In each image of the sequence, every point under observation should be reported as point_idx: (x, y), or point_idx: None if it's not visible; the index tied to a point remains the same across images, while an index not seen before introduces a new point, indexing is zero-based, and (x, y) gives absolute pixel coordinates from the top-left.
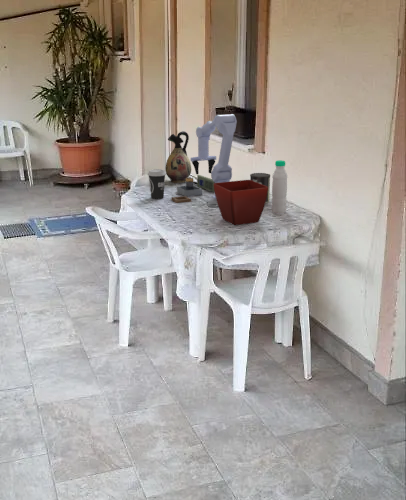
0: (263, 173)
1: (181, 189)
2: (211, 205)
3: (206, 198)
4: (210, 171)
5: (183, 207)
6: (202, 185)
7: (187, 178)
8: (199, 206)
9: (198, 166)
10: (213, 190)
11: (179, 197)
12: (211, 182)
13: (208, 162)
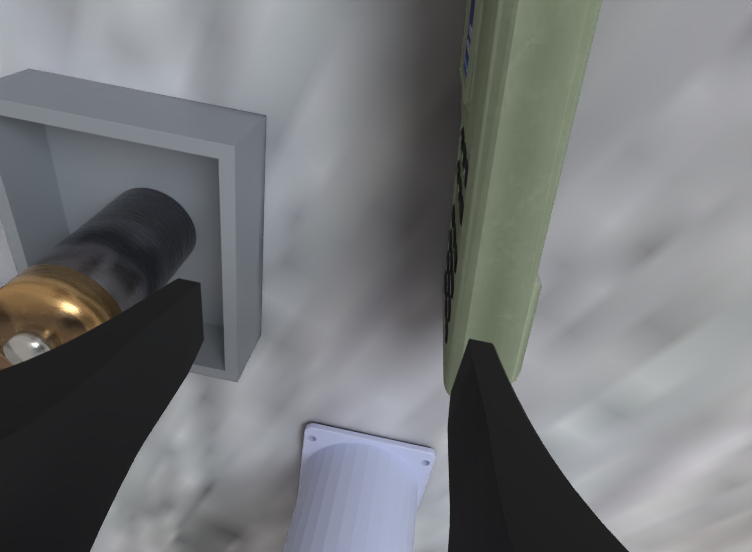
0: None
1: (16, 250)
2: (204, 535)
3: (251, 419)
4: (450, 431)
5: None
6: (468, 27)
7: (6, 325)
8: (126, 514)
9: (108, 504)
10: (443, 305)
11: (1, 364)
12: (449, 322)
13: (498, 542)
